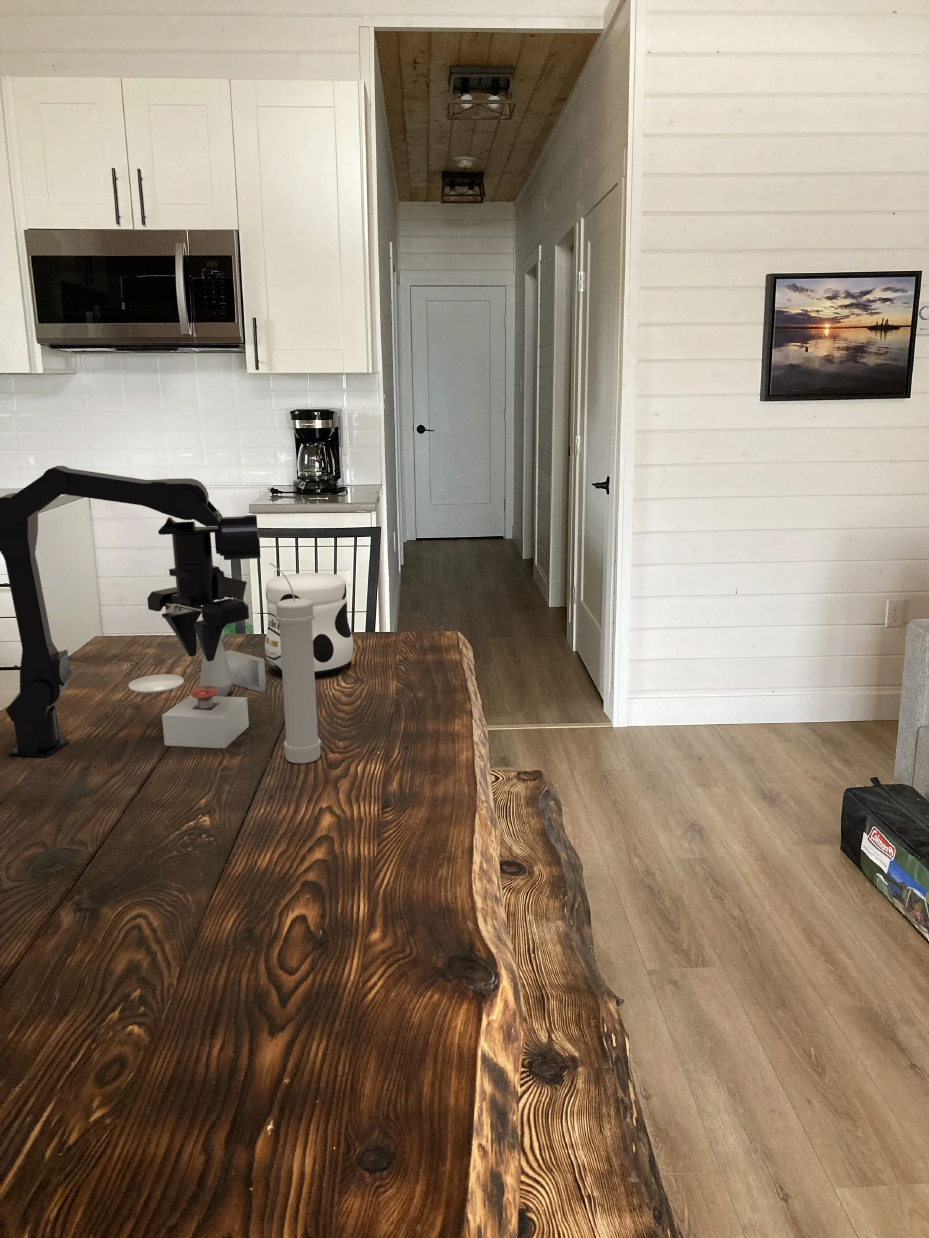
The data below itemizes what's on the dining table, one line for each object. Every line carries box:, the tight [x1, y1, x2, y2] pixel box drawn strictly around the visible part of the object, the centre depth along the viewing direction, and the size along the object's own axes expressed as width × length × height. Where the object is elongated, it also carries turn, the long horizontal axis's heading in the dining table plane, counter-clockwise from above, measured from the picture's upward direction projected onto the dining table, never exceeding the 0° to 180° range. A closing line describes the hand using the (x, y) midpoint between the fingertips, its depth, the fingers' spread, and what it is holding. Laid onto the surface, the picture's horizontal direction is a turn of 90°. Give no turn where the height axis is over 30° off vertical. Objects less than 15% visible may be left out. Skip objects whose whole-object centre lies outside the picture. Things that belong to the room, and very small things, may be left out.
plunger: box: [190, 685, 217, 710], centre depth 152 cm, size 4×4×5 cm
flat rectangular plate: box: [225, 649, 267, 692], centre depth 177 cm, size 2×10×6 cm, turn 51°
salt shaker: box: [199, 628, 233, 697], centre depth 172 cm, size 6×6×13 cm
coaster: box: [128, 673, 185, 693], centre depth 180 cm, size 10×10×1 cm
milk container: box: [264, 572, 354, 675], centre depth 187 cm, size 17×17×18 cm
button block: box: [161, 694, 250, 749], centre depth 152 cm, size 10×10×5 cm
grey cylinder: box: [269, 562, 322, 764], centre depth 140 cm, size 6×6×30 cm
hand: (201, 658), depth 150 cm, fingers open, 4 cm apart
